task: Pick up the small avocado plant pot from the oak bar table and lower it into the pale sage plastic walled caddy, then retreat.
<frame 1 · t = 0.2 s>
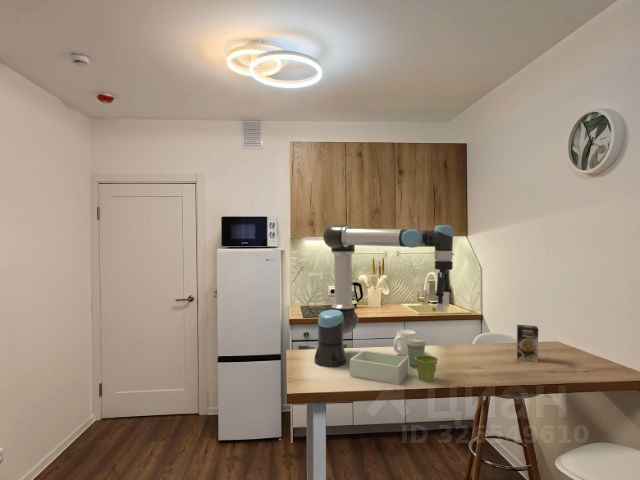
hand: (443, 308, 177), 27 cm above the table, fingers open, 13 cm apart
coffee cup: (415, 366, 183), on the table
caddy: (379, 374, 171), on the table
plant pot: (426, 379, 166), on the table
mug: (404, 353, 204), on the table
coffee box: (526, 359, 195), on the table
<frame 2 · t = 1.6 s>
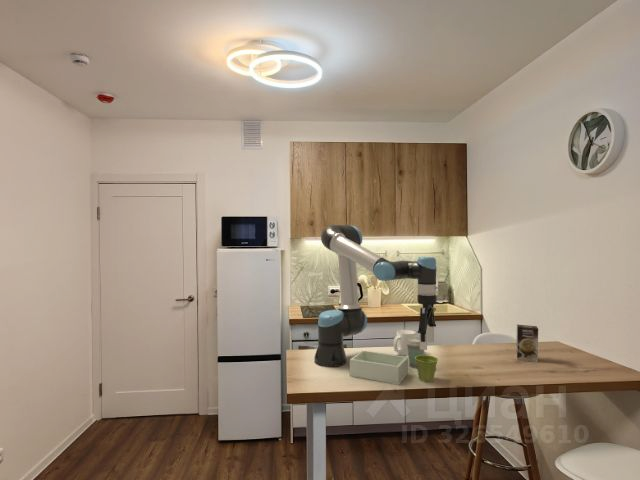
hand: (427, 345, 166), 14 cm above the table, fingers open, 13 cm apart
nothing on the table moved.
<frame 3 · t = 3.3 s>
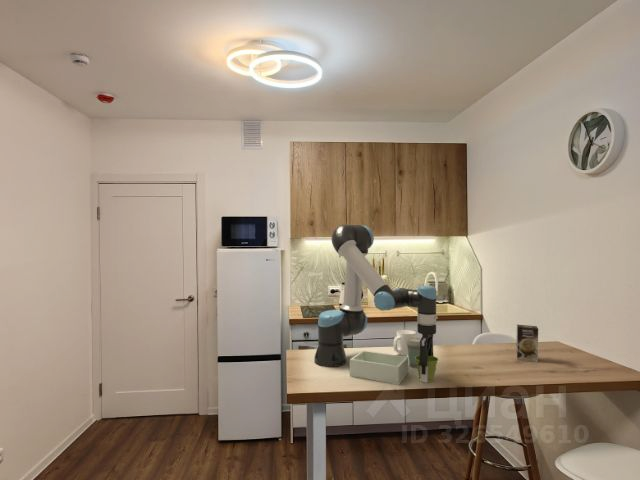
hand: (426, 378, 166), 0 cm above the table, fingers closed on plant pot, 8 cm apart
plant pot: (426, 379, 166), on the table, touching gripper
everything else where it was.
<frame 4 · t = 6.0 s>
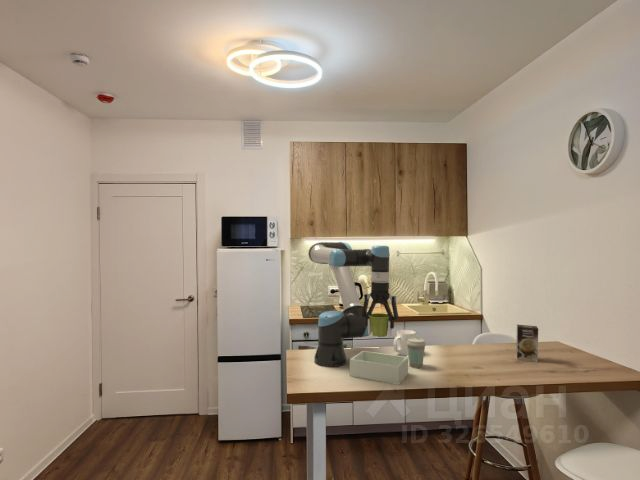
hand: (379, 334, 171), 17 cm above the table, fingers closed on plant pot, 8 cm apart
plant pot: (379, 336, 171), point 16 cm above the table, touching gripper
everything else where it was.
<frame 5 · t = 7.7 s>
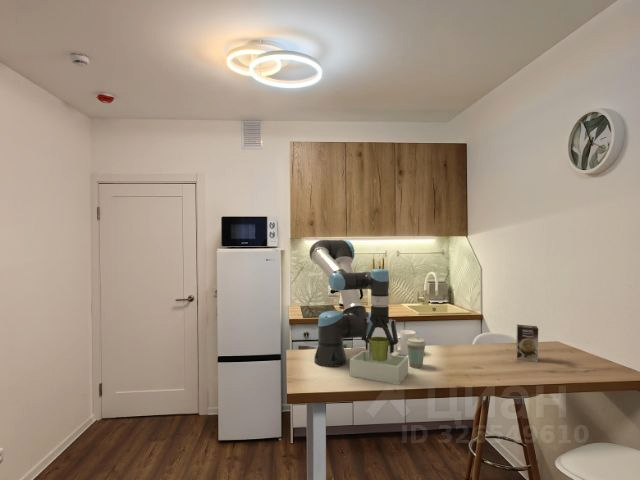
hand: (379, 358, 171), 7 cm above the table, fingers closed on plant pot, 8 cm apart
plant pot: (379, 359, 171), point 6 cm above the table, touching gripper
everything else where it was.
when the fingers open (3 cm above the table, at t = 9.0 s): plant pot drops 1 cm, resting on caddy.
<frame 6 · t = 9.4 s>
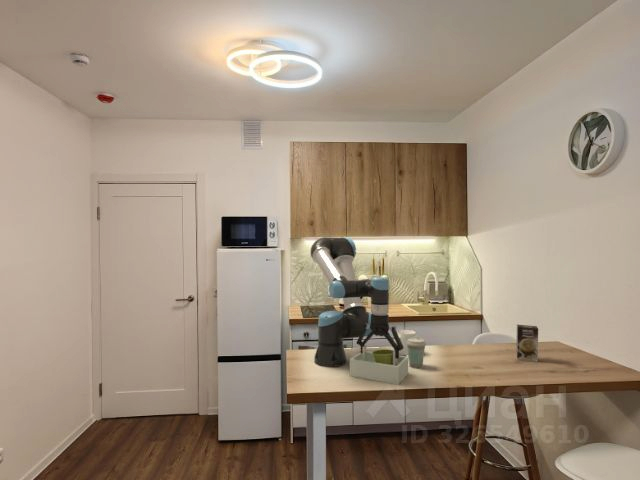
hand: (379, 363, 171), 5 cm above the table, fingers open, 13 cm apart
plant pot: (384, 373, 170), point 1 cm above the table, touching caddy, gripper
everything else where it was.
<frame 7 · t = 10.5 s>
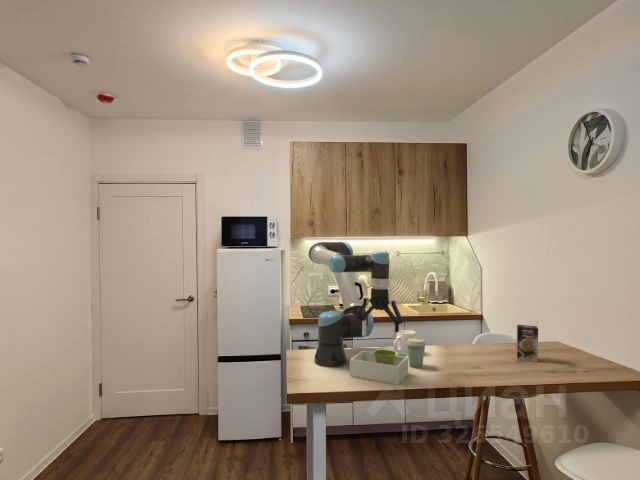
hand: (379, 337, 172), 16 cm above the table, fingers open, 13 cm apart
plant pot: (384, 373, 170), point 1 cm above the table, touching caddy
everything else where it was.
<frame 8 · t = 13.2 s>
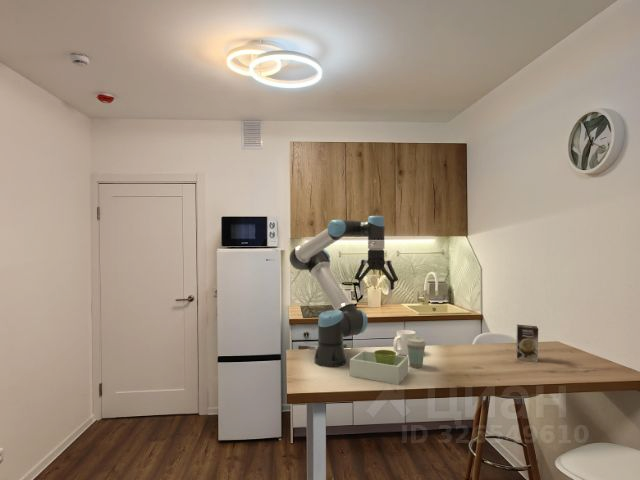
hand: (375, 295, 185), 32 cm above the table, fingers open, 13 cm apart
nothing on the table moved.
at the end: plant pot inside the target area on the caddy (2.4 cm from its centre), point 0.8 cm above the caddy's base; plant pot tilted 0°; the gripper is holding nothing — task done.
